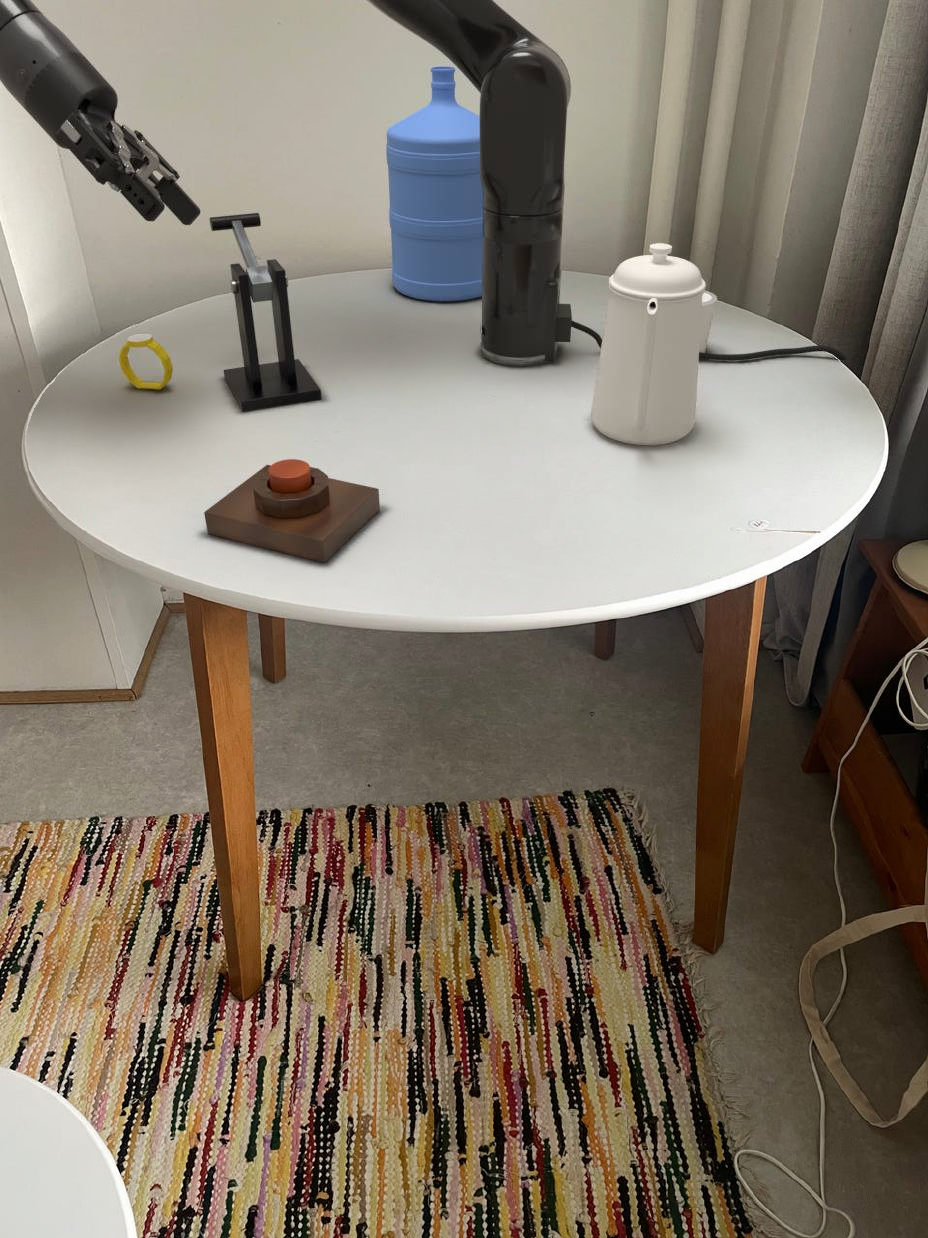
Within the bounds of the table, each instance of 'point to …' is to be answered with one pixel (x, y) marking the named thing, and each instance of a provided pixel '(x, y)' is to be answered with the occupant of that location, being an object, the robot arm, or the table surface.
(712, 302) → the white cup
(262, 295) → the lever
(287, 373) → the bracket
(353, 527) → the button block
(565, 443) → the table surface
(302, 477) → the button
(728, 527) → the table surface
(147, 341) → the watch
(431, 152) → the water jug
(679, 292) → the coffeepot
